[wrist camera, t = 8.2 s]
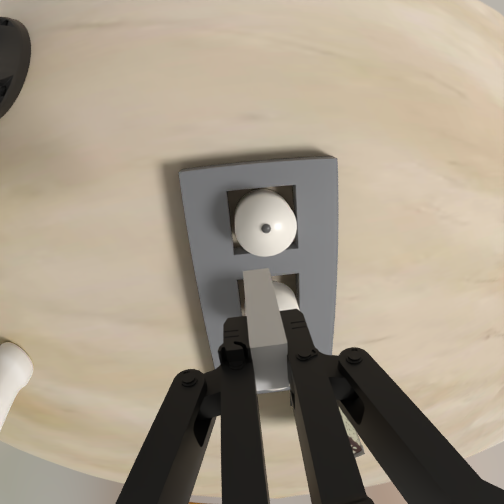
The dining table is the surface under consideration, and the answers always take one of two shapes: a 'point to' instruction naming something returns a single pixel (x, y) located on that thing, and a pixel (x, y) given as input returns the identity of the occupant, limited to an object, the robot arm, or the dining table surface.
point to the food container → (352, 437)
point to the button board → (287, 262)
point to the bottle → (12, 375)
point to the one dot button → (264, 223)
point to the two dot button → (283, 297)
